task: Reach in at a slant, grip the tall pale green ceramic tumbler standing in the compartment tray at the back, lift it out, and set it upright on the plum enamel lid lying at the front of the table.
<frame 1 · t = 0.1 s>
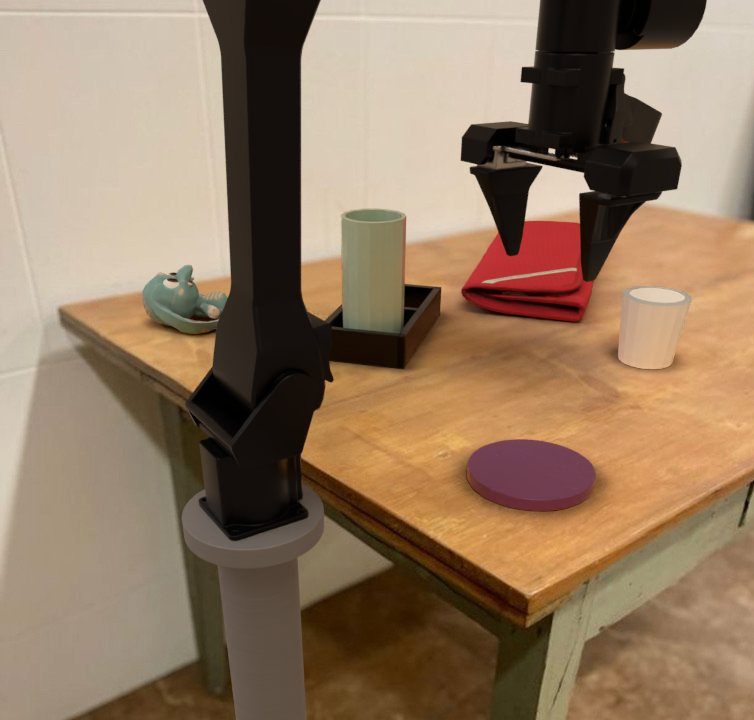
hand: (549, 267, 68), 13 cm above the table, tool pointing down, fingers open, 9 cm apart
dish drying mat: (537, 274, 115), on the table
compartment tray: (383, 336, 92), on the table
tumbler: (372, 348, 89), resting in compartment tray
stuffed animal: (197, 324, 96), on the table
white cup: (644, 361, 87), on the table
lid: (529, 478, 65), on the table
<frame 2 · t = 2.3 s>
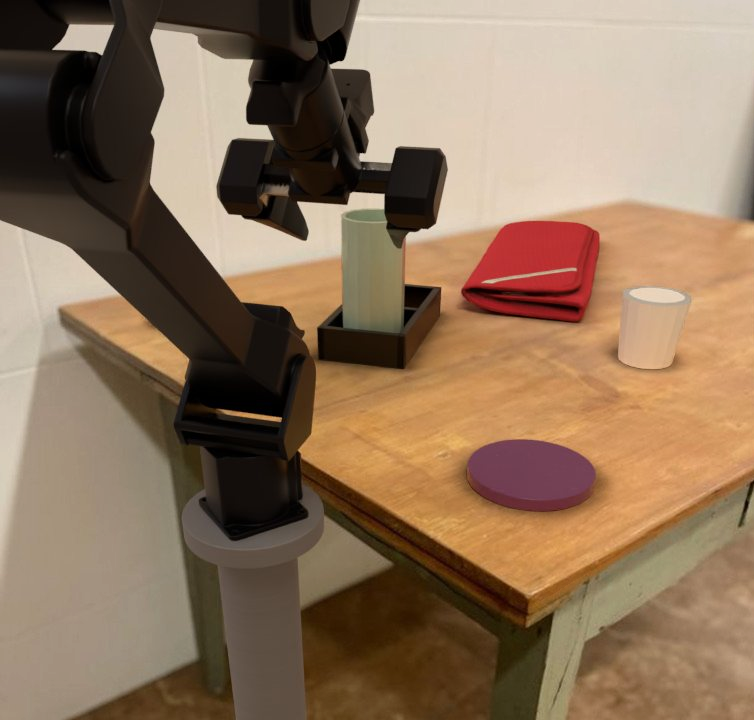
hand: (352, 240, 75), 13 cm above the table, tool tilted 45°, fingers open, 9 cm apart
nothing on the table moved.
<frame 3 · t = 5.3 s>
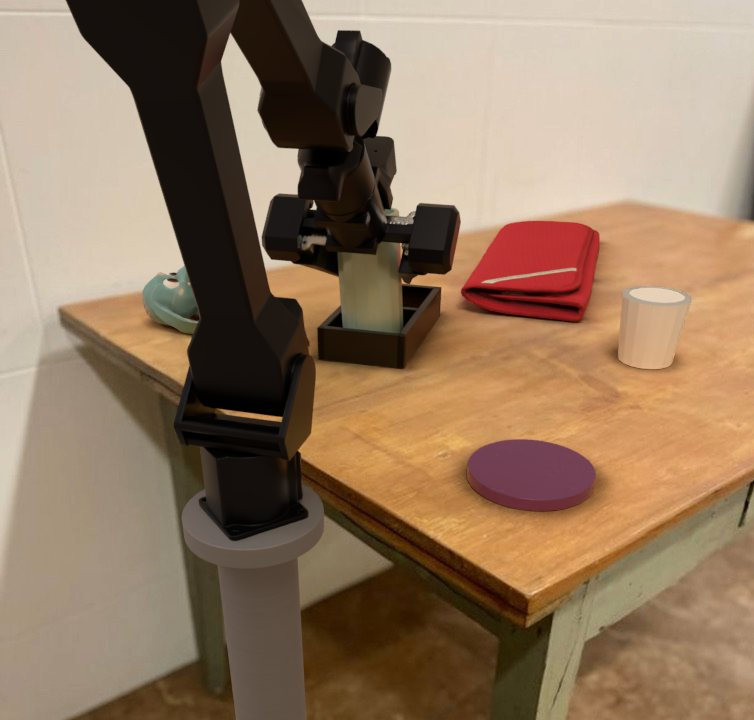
hand: (376, 276, 86), 7 cm above the table, tool tilted 45°, fingers closed on tumbler, 7 cm apart
tumbler: (373, 347, 89), resting in compartment tray, touching gripper
everything else where it was.
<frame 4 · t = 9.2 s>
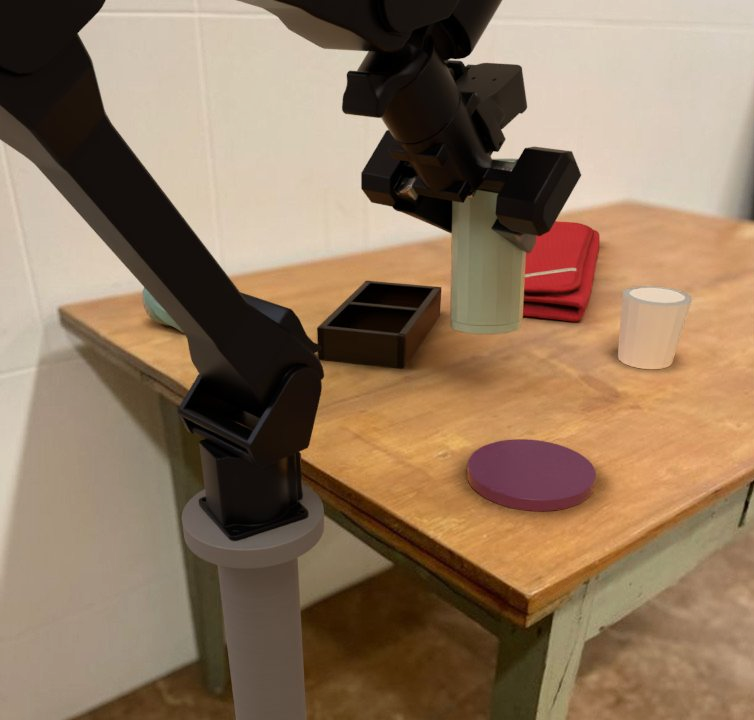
hand: (498, 241, 73), 14 cm above the table, tool tilted 45°, fingers closed on tumbler, 7 cm apart
tumbler: (485, 326, 75), point 7 cm above the table, tilted 6°, touching gripper
everything else where it was.
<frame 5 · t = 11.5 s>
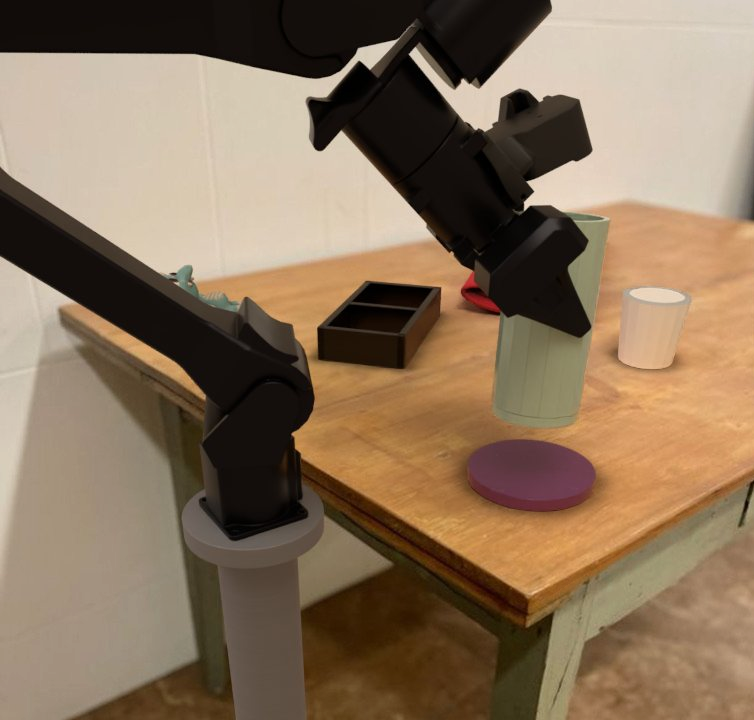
hand: (567, 316, 58), 13 cm above the table, tool tilted 45°, fingers closed on tumbler, 7 cm apart
tumbler: (534, 414, 61), point 6 cm above the table, tilted 6°, touching gripper
everything else where it was.
when the fingers open (9 cm above the table, at t = 13.3 s): tumbler stays where it is, resting on lid.
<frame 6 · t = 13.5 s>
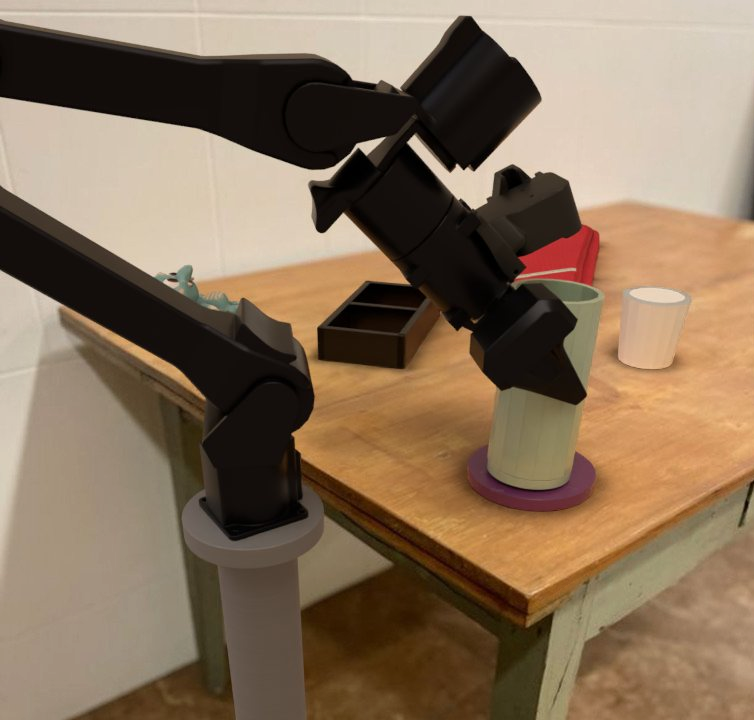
hand: (560, 376, 60), 9 cm above the table, tool tilted 45°, fingers open, 8 cm apart
tumbler: (528, 470, 63), point 1 cm above the table, touching gripper, lid
lid: (529, 478, 65), on the table, touching tumbler
everything else where it was.
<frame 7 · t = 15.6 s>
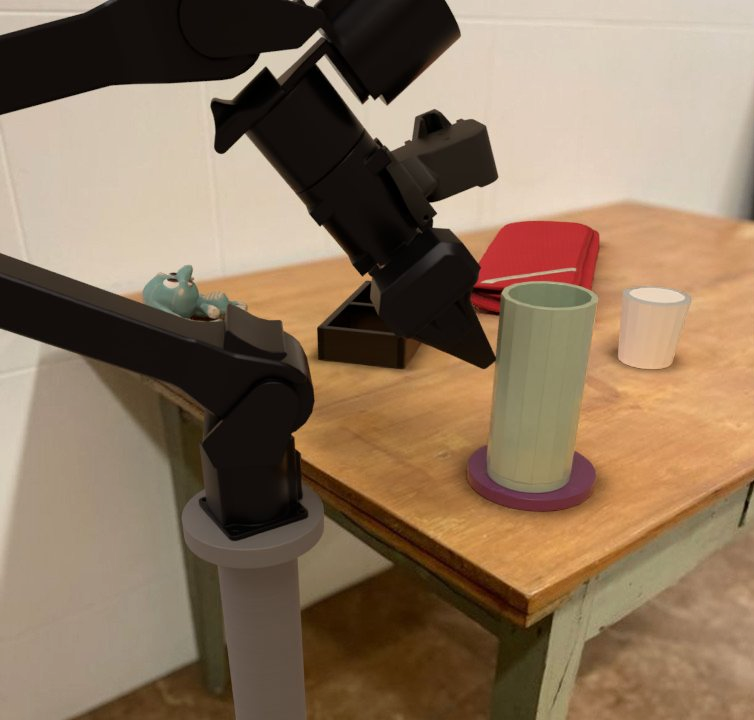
hand: (472, 339, 58), 12 cm above the table, tool tilted 40°, fingers open, 9 cm apart
tumbler: (528, 472, 63), point 1 cm above the table, touching lid
everything else where it was.
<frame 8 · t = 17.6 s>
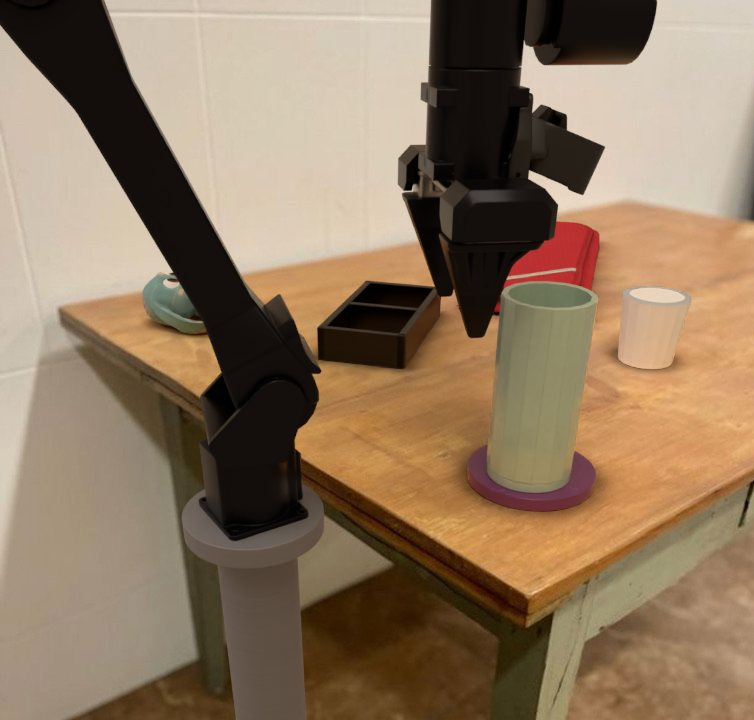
hand: (459, 315, 58), 13 cm above the table, tool pointing down, fingers open, 9 cm apart
nothing on the table moved.
at the end: tumbler 0.9 cm off-centre on the lid, point 1.0 cm above the lid's base; tumbler tilted 0°; the gripper is holding nothing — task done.
